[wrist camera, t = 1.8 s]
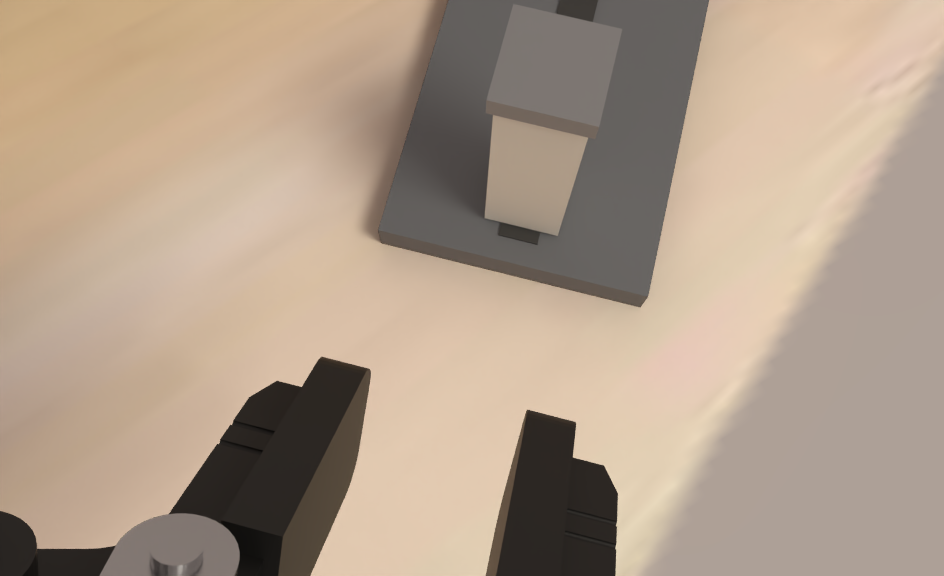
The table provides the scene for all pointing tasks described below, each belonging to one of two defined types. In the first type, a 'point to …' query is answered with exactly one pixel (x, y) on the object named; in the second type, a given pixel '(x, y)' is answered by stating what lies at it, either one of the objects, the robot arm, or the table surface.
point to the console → (602, 165)
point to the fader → (544, 113)
